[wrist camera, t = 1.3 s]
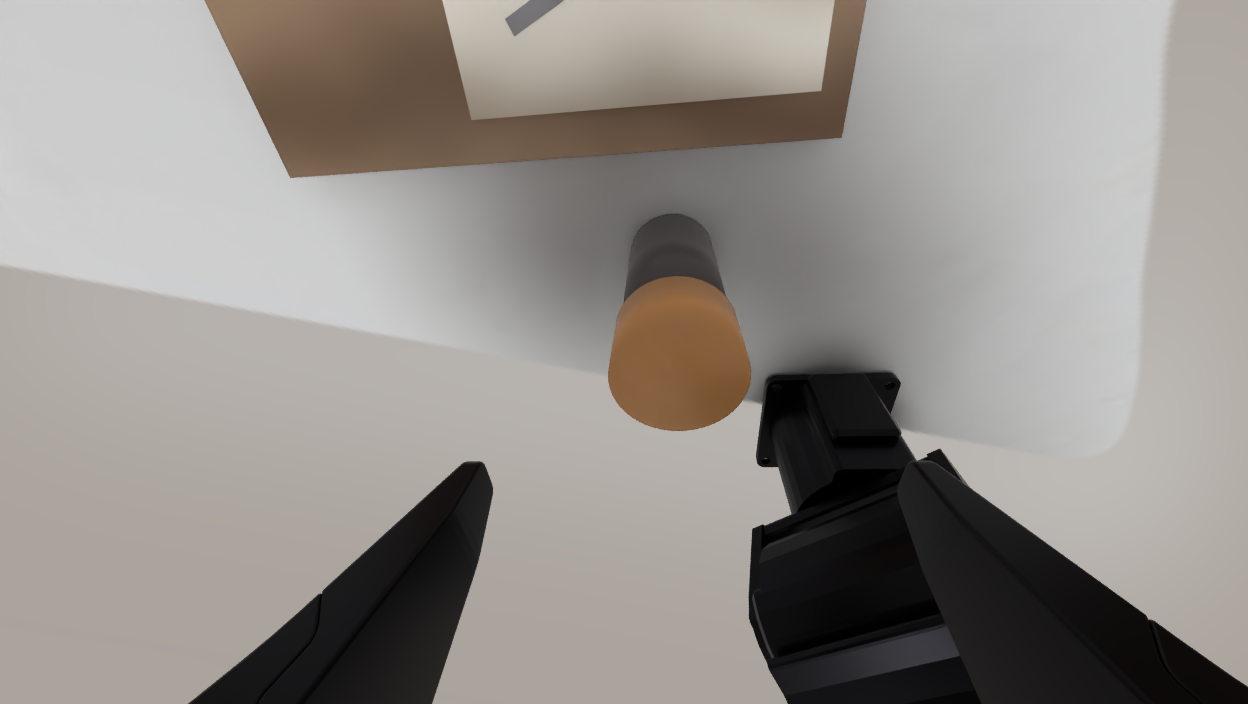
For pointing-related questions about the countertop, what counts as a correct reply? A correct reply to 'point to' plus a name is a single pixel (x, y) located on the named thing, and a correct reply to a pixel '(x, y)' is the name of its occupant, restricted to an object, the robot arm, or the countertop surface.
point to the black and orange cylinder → (676, 332)
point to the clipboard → (536, 77)
